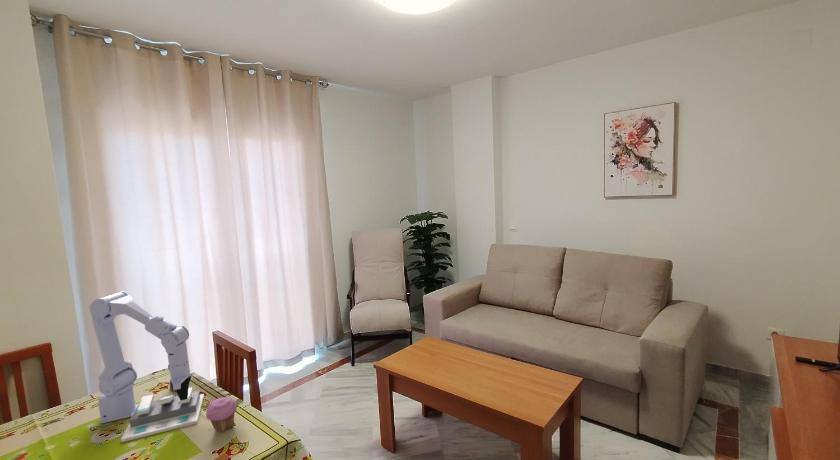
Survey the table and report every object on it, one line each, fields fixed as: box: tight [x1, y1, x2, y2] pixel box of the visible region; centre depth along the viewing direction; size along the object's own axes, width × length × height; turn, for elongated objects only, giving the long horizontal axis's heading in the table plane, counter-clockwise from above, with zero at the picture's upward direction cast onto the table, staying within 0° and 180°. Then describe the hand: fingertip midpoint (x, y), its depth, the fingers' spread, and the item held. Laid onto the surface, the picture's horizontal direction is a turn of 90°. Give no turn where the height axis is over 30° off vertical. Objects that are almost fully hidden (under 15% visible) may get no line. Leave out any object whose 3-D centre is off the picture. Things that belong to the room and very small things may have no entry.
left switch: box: [136, 394, 155, 416], centre depth 129 cm, size 3×8×2 cm, turn 24°
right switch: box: [178, 387, 194, 404], centre depth 134 cm, size 3×8×2 cm, turn 24°
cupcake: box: [205, 396, 238, 433], centre depth 123 cm, size 9×9×10 cm
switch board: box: [120, 390, 205, 443], centre depth 130 cm, size 21×18×4 cm
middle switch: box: [158, 394, 175, 406], centre depth 132 cm, size 3×8×2 cm, turn 23°
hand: (183, 399), depth 131 cm, fingers closed
